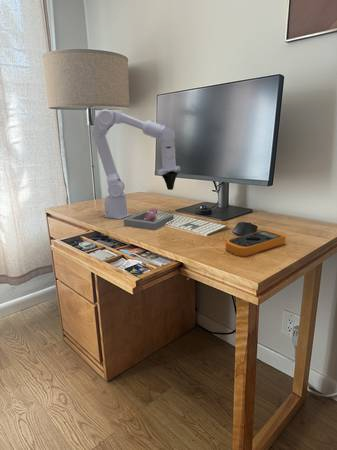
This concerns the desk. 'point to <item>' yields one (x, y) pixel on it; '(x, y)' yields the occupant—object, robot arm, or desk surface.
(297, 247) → the desk surface
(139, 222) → the tray
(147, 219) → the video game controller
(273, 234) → the multimeter
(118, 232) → the desk surface
